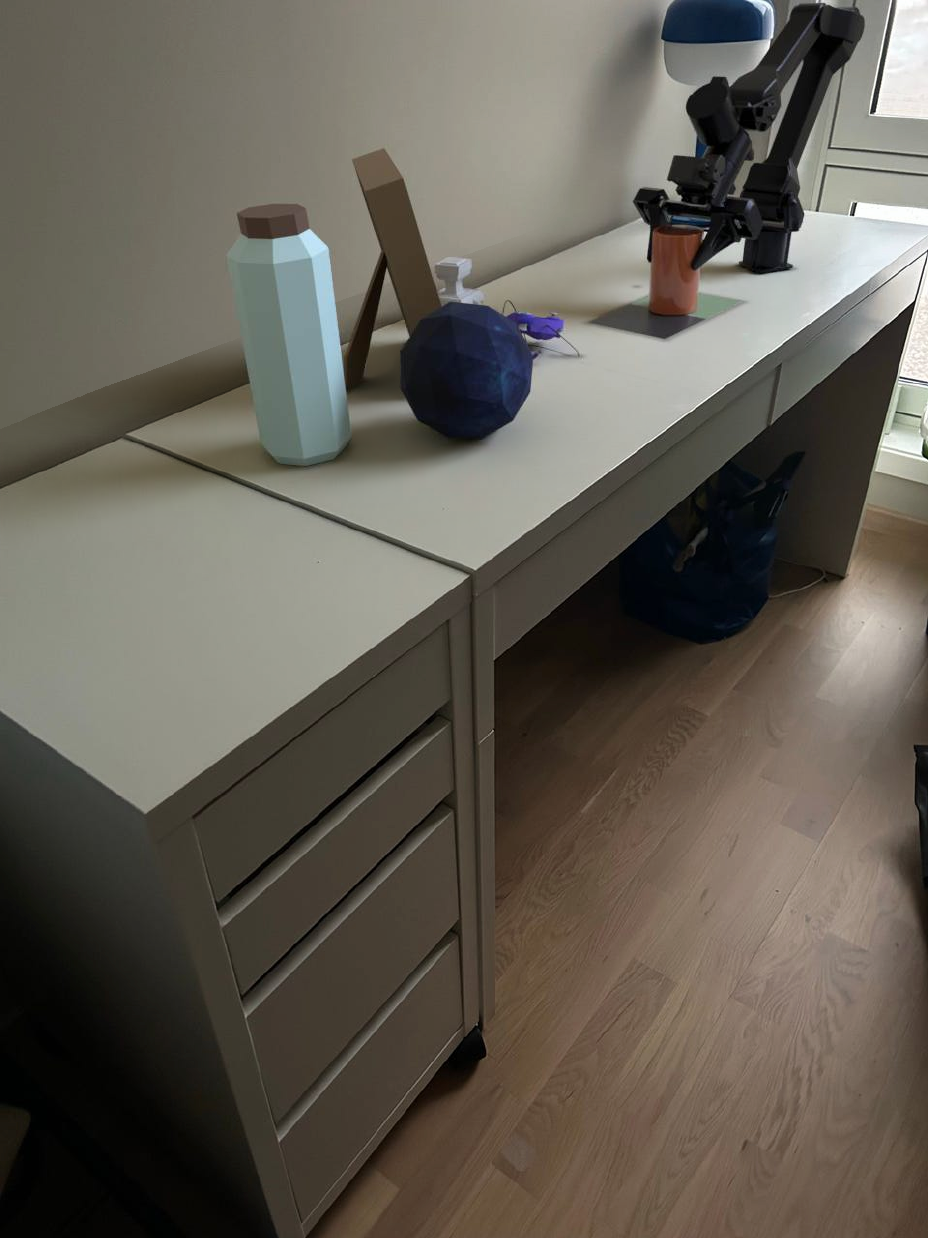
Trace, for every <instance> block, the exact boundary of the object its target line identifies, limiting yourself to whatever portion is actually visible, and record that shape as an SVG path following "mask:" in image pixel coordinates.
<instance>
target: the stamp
mask: <svg viewBox="0 0 928 1238" xmlns="http://www.w3.org/2000/svg"><path fill="white" fill-rule="evenodd" d="M472 263H473V262H472V258H464V257H454V256H453V257H452V256H447V257H446V258H443V259H442V260H440V261H438V262H436V263H435V264H434V275H436V278H437V279H438V280H441V281H444V283H445V286H444V287H443V288H442V289H439V290H437V293H438V296H439V299H440V303H441V306H444V305H445V304H447V303H449V302H459V303H469V304H478V305H483V303H484V301H485V300H486V298H485V294H484V292H483V291H482V290H481V289H477V288H467V287H463V280H464V279H465V278H466V277H468V276H469V275H470V274H471V269H473V266H472V265H473V264H472Z"/></svg>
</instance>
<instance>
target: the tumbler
mask: <svg viewBox="0 0 928 1238" xmlns="http://www.w3.org/2000/svg"><path fill="white" fill-rule="evenodd" d="M704 238H705V230H704V228H702V227H699V226H696V225H689V224H670V225H668V226H662V227H658V228H655V229H654V230H653V238H652V254H651V263H650V270H649V271H650V273H649V287H648V296H649V301H648V309H649V310H650V311H651V312H654V313H657V314H662V315H684V314H689V313H692V312H694V311H696V309H697V302H698V293H699V291H700V279H701V270H702V268H701V267H702V266H701V267H699V268H698V269H697V270H693V269H692V267H691V265H692V262H693V260H694V257H695V255H696V253H697V251H698V249H699V247H700V245H701V243H702V241H703V239H704Z"/></svg>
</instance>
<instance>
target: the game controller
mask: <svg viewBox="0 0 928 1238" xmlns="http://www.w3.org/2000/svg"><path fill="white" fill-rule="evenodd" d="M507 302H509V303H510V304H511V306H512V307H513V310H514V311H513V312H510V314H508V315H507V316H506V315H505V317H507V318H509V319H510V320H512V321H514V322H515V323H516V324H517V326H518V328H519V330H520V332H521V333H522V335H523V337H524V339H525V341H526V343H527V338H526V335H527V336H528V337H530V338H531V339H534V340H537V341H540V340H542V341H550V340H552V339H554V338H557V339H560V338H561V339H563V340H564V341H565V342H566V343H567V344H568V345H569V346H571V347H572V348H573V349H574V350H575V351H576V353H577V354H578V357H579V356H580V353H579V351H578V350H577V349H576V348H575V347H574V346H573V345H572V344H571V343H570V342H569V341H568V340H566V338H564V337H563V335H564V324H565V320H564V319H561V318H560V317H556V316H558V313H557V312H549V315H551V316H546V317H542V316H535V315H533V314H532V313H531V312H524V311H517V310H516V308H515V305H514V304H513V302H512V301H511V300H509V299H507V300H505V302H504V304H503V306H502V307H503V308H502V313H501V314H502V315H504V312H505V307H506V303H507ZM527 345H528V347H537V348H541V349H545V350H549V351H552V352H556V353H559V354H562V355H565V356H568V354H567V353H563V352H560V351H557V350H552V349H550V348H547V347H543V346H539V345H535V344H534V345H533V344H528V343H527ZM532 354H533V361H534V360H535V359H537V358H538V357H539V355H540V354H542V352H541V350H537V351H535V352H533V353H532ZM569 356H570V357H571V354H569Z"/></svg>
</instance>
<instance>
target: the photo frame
mask: <svg viewBox="0 0 928 1238" xmlns="http://www.w3.org/2000/svg"><path fill="white" fill-rule="evenodd" d="M351 161H352V163H353V164H352V165H353V167H354V171H355V174H356V177H357V181H358V183H359V186H360V189H361V192H362V196H363V199H364V202H365V205H366V208H367V211H368V214H369V217H370V220H371V223H372V226H373V229H374V232H375V235H376V238H377V242H378V245H379V247H380V250H381V251H380V254H379V256H378V259H377V262H376V265H375V268H374V270H373V273H372V276H371V279H370V281H369V285H368V287H367V290H366V293H365V296H364V299H363V301H362V305H361V307H360V310H359V313H358V316H357V319H356V321H355V324H354V326H353V330H352V333H351V335H350V339H349V341H348V343H347V347H346V349H345V353H344V355H343V371H344V379H345V387H346V391H348V390H349V389H350V388H352V387H353V386H355V385H356V384H358V383H360V381H363V379H364V376H365V371H366V367H367V361H368V357H369V353H370V352H369V351H370V347H371V343H372V338H373V334H374V328H375V323H376V319H377V315H378V309H379V305H380V301H381V296H382V291H383V287H384V282H385V278H386V273H387V272H388V275H389V278H390V282H391V284H392V287H393V290H394V291H393V292H394V293H395V296H396V300H397V303H398V306H399V308H400V312H401V316H402V319H403V323H404V325H405V327H406V331H407V334H408V338H409V337H410V335H411V334H412V332H413V331H414V329H415V328H416V326H417V325H418V323H419V321H420V320H421V319H423V318H424V317H426V316H427V315H429V314H431V313H432V312H434V311H436V310H437V309H439V308H441V307H442V306H441V303H440V299H439V296H438V293H437V292H438V290H437V286H436V283H435V279H434V276H433V272H432V269H431V266H430V262H429V259H428V256H427V252H426V250H425V245H424V242H423V240H422V235H421V233H420V229H419V226H418V223H417V219H416V216H415V213H414V209H413V206H412V203H411V199H410V196H409V191H408V189H407V186H406V183H405V179H404V177H403V175H402V174H401V172H400V170H399V169H398V167H397V166H396V164H395V162H394V161H393V160H392V158H391V156H390V155H389V153H388V151H387V150H386V148H385V147H383V148H380V149H377V150H374V151H372V152H368V153H366V154H362V155H360V156H357V157H354V158H352V159H351Z"/></svg>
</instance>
